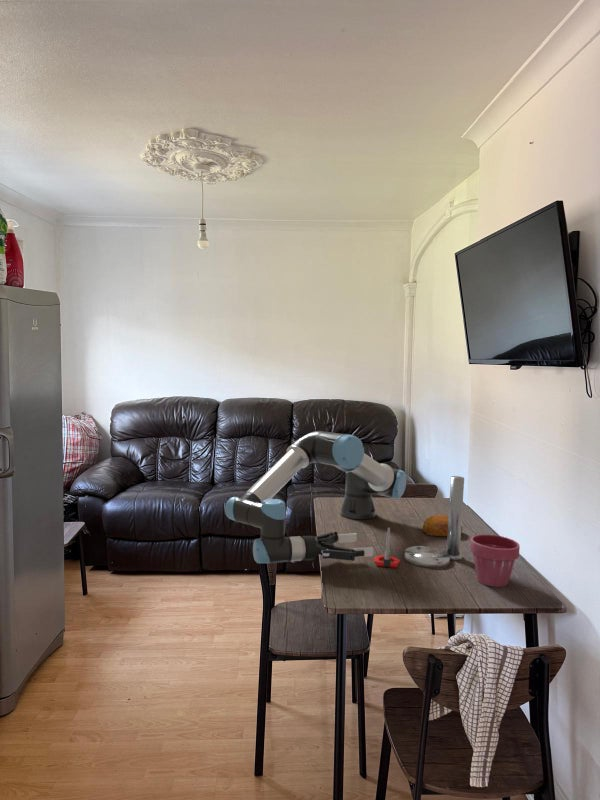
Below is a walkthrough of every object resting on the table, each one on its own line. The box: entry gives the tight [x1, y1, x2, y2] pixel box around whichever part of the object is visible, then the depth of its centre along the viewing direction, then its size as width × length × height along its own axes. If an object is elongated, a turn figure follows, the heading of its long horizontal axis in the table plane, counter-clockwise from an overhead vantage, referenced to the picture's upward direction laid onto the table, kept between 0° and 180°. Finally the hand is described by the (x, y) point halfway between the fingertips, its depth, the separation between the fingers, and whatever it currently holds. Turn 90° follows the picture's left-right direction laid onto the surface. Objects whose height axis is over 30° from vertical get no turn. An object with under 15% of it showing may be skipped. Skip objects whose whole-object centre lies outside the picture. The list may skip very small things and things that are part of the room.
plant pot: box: [469, 533, 521, 588], centre depth 175 cm, size 14×14×13 cm
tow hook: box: [373, 527, 401, 569], centre depth 187 cm, size 8×13×9 cm
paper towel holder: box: [404, 475, 465, 569], centre depth 192 cm, size 15×21×28 cm
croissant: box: [422, 514, 463, 537], centre depth 222 cm, size 14×16×8 cm
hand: (364, 544), depth 184 cm, fingers open, 13 cm apart
